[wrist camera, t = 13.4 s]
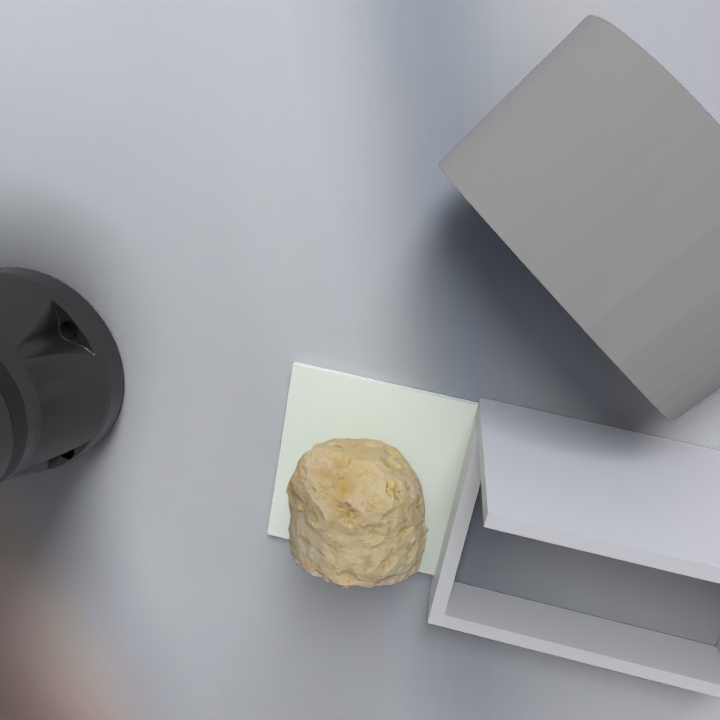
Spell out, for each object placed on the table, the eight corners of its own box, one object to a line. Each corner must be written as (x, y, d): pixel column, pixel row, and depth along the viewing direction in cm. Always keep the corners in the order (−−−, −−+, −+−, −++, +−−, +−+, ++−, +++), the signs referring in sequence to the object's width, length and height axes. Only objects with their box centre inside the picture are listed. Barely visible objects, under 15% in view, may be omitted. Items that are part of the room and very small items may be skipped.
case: (430, 586, 48) (417, 763, 34) (479, 397, 43) (487, 512, 29) (735, 663, 46) (857, 884, 32) (825, 474, 41) (1016, 638, 27)
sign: (783, 285, 38) (889, 325, 29) (643, 388, 41) (697, 455, 32) (570, 35, 36) (609, -10, 27) (440, 164, 39) (433, 164, 30)
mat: (269, 529, 49) (267, 534, 48) (295, 361, 44) (292, 364, 44) (447, 573, 48) (447, 578, 47) (492, 405, 43) (492, 408, 43)
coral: (260, 600, 42) (256, 514, 35) (312, 481, 49) (317, 392, 42) (399, 646, 40) (423, 566, 34) (432, 517, 48) (456, 429, 41)
